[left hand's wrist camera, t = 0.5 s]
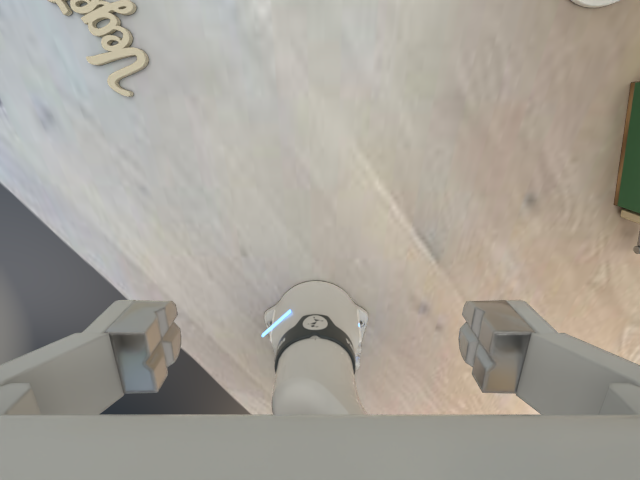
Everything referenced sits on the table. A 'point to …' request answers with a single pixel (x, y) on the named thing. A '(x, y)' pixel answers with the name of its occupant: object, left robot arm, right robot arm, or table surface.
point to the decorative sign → (109, 36)
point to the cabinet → (630, 156)
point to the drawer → (633, 217)
